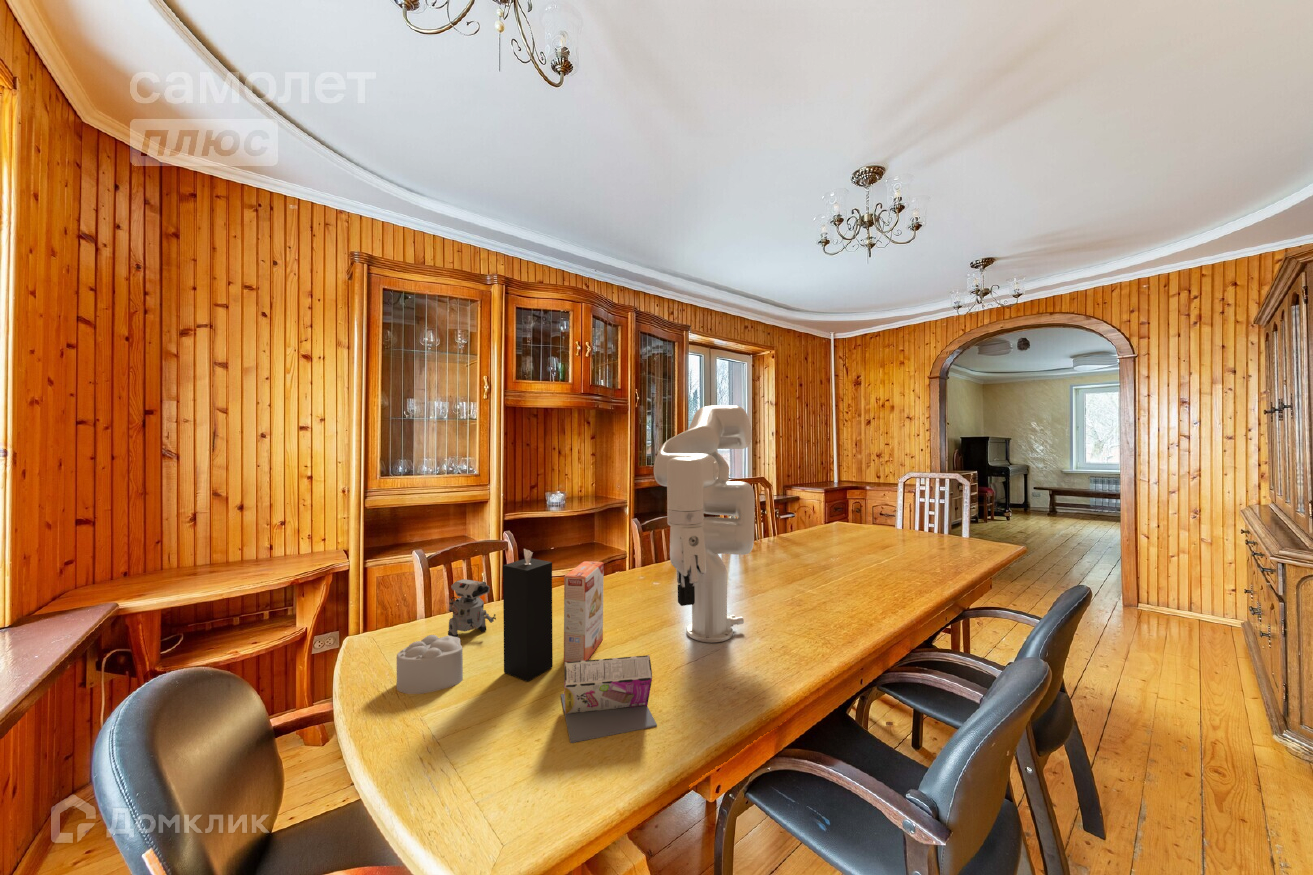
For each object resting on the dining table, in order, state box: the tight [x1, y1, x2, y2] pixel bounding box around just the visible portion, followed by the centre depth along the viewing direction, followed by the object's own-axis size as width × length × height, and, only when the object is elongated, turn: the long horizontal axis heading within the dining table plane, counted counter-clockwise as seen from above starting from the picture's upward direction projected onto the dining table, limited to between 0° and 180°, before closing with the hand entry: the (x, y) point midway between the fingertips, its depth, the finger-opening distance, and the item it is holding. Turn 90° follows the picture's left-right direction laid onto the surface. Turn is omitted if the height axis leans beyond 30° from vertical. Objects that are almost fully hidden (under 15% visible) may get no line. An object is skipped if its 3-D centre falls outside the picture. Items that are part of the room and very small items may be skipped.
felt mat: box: [560, 693, 658, 744], centre depth 95 cm, size 16×16×1 cm
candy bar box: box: [563, 654, 653, 715], centre depth 93 cm, size 11×5×16 cm
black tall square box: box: [502, 548, 554, 682], centre depth 110 cm, size 8×8×28 cm
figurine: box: [447, 578, 497, 638], centre depth 129 cm, size 9×12×15 cm
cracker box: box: [563, 560, 605, 663], centre depth 120 cm, size 14×6×21 cm, turn 168°
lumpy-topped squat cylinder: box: [396, 634, 464, 695], centre depth 106 cm, size 10×13×9 cm
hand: (686, 603), depth 100 cm, fingers closed
